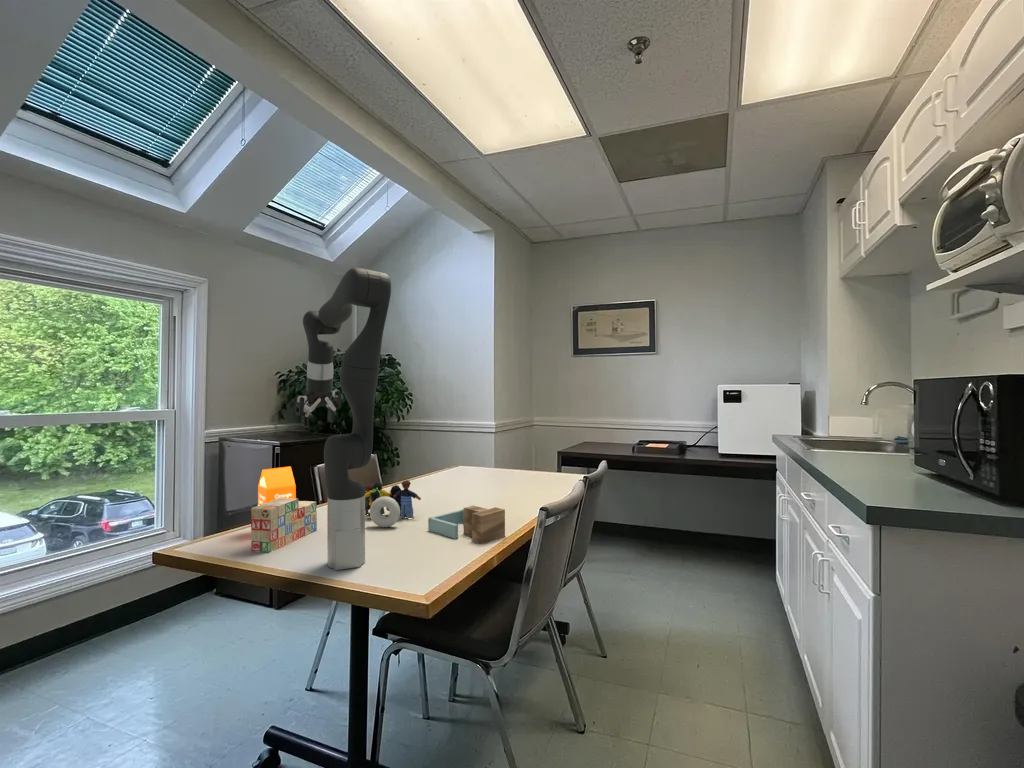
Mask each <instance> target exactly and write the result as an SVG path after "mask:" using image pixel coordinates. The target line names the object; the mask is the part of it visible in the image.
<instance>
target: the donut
mask: <svg viewBox="0 0 1024 768" xmlns="http://www.w3.org/2000/svg"><path fill="white" fill-rule="evenodd" d="M382 507H384V508H386V507H387V508H388V509H389V511H388V512H389V513H388V516H387V515H386V516H385V515H384V516H382V515H383V514H382V515H381V512H380V511H381V508H382ZM369 512H370V515H369V516H370V519H371V521H372V522H373V523H374V525H377V526H378V527H380V528H384V527H385V528H391V526H394V525H395V524H396V523H397V522H398V520H399V519H400V517H401V516H400V507H399V505H398V503H397V502H396V501H395V500H394V499H393V498H391V497H387V496H384V497H380V498H378V499H376V500H375V501H374V502H373V503H372V505H371V507H370V509H369Z"/></svg>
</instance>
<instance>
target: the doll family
mask: <svg viewBox="0 0 1024 768" xmlns="http://www.w3.org/2000/svg"><path fill="white" fill-rule="evenodd" d="M411 484H412V483H411V481H410V480H408V479H407V480H404V481H401V485H402V488H403V489H401V487H400V486H399V485H398V484H395V485H393V486H391V489H390V490H389V491H387V490H384V488H383V483H381V482H380V481H376V482H374V484H373V483H368V484H365V515H367V514H370V507H371V505H372V503H373V502H374V501H375V500H376V499H378V498H380V497H384V496H387V497H391V498H393V499H394V500H395V501H396V502H397V503H398V505H399V507H400V515H401V516H400V517H402V518H405V517H407V519H408V518H413V519H414V518H415V516H414V506H413V499H416V500H418V501H421V499H422V497H420V496H419V495H418V494H417V493H416V492H414V491H412V490H410V489H409V488H410V485H411ZM412 498H413V499H412ZM385 508H386V510H387V511H388V512H390V511H389V509H388V508H387V507H382V508H381V511H380V512H381V515H382V516H384V517H385V514H386V513H385ZM405 519H406V518H405Z"/></svg>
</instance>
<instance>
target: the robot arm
mask: <svg viewBox="0 0 1024 768" xmlns="http://www.w3.org/2000/svg"><path fill="white" fill-rule="evenodd" d="M391 296H392V282H391V277H390V276H389V274H388V273H385V272H381V271H378V270H377V271H376V270H371V269H367V268H362V267H351V268H350V269H348V270H347V271H346V272H345V273H344V275H343V277H342V278H341V280H340V282H339V283H338V284H337V286H336V289H335V290H334V292H333V294H332V296H331V297H330V298H329V299H328V300H327V301H326V302H325V303H324V304H323V305H322V306H321V307H320V308H319V310H308V311H307V312H305V313H304V314H303V317H302V325H303V328H304V332H305V335H306V340H307V347H308V355H307V358H308V359H307V360H308V361H307V367H306V395H299V394H298V395H296V399H295V411H294V413H295V414H296V415H297V416H300V417H301V420H300V421H301V426H302V427H304V428H305V429H306V428H309V426H310V425H309V424H310V417H309V416H310V414H311V413H312V412H313V411H314V410H315V409H317V408H321V407H326V408H328V409H327V421H328V423H333V422H334V420H335V417H336V416H335V415H336V410H338V409H341V408H342V394H343V395H344V398H345V400H346V401H347V403H348V405H349V406H348V407H349V408H350V410H351V413H352V429H351V433H343V434H335V435H334V434H333V435H331V436H328V438H327V439H326V441H325V442H324V443H325V444H324V447H323V464H324V481H325V488H326V493H327V515H326V516H327V519H326V520H327V524H326V525H327V535H326V536H327V537H326V538H327V545H326V546H327V548H326V549H327V566H328V568H330V569H334V571H339V570H340V571H341V570H346V569H348V570H349V569H355V568H360V567H362V565H363V564H364V563H365V562H366V516H365V491H366V489H365V486H366V484H364V483H363V482H360V481H355V480H352V479H350V477H349V471H350V470H354V469H361V468H364V467H366V466H368V464H369V463H370V462H371V459H372V454H373V445H374V444H373V443H374V416H375V415H374V413H375V404H376V403H375V401H376V394H377V393H376V392H377V386H378V381H379V372H380V362H381V361H380V360H381V352H382V345H383V344H382V343H383V337H384V336H383V335H384V330H385V325H386V321H387V315H388V311H389V306H390V301H391ZM353 305H354V306H356V307H362V308H363V307H364V308H369V313H368V317H367V321H366V323H365V325H364V327H363V329H362V330H361V332H360V333H359V334H358V335H357V337H356V338H355V339H354V340H353V342H352V343H351V344H350V345H349V346H348V347H347V349H346V350H345V352H344V353H343V355H342V359H341V365H340V366H341V367H340V374H339V385H340V388H341V391H340V390H339V389H337V388H334V389H333V387H334V386H333V385H334V384H333V383H334V345H333V343H331V342H329V341H325V340H321V339H319V337H318V335H320V336H321V335H336V334H337V333H339V332H340V330H341V328H342V325H343V323H345V322H346V321H347V320H348V319H349V318H350V317H351V315H352V312H353ZM332 397H333V399H332V400H333V401H331V398H332Z"/></svg>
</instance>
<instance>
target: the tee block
mask: <svg viewBox="0 0 1024 768" xmlns="http://www.w3.org/2000/svg"><path fill="white" fill-rule="evenodd" d="M462 524H463V528H462V529H463V535H466V534H467V536H469V535H471V536H470V537H471V541H472V542H474V541H475V543H477V542H478V543H477V544H485V543H487V542H488V543H489V542H491V541H494V540H497V539H499V538H502V537H505V536H506V509H504V508H500V507H492V508H487V507H486V508H485V507H481V506H477V505H469V506H466V507H463V523H462Z"/></svg>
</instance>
